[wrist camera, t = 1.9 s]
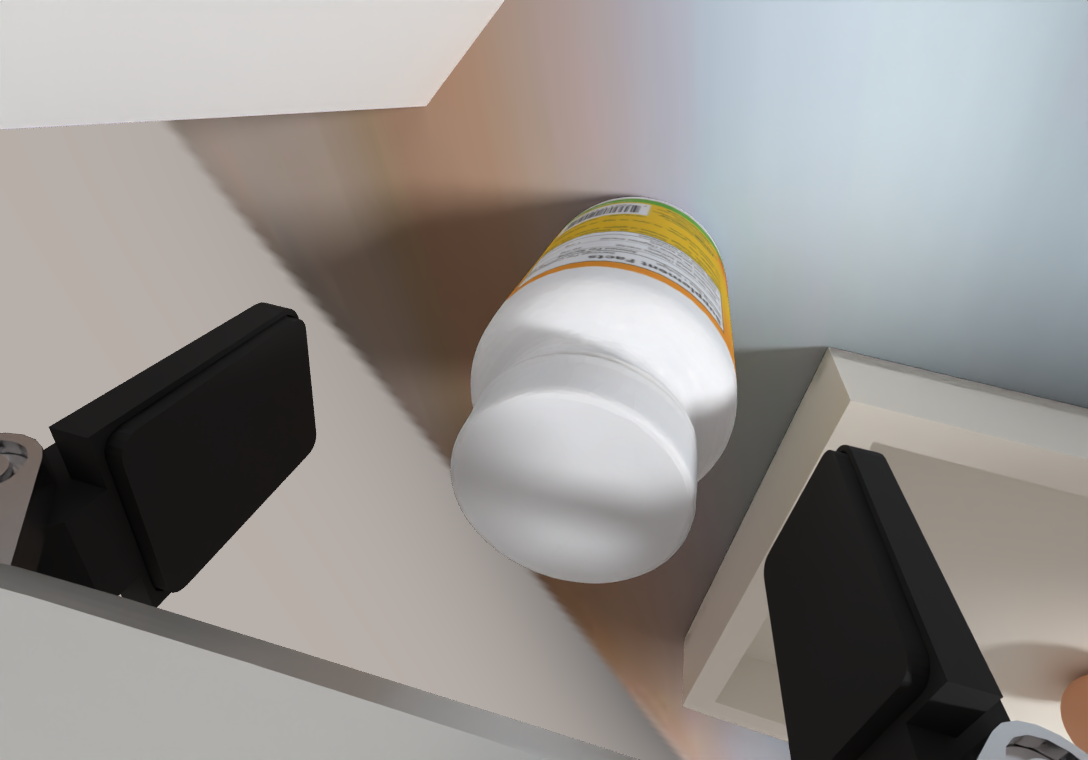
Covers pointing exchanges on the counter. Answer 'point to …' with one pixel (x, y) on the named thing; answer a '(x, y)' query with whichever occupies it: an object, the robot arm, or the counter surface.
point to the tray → (924, 532)
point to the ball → (1076, 712)
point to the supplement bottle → (601, 396)
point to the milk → (224, 57)
